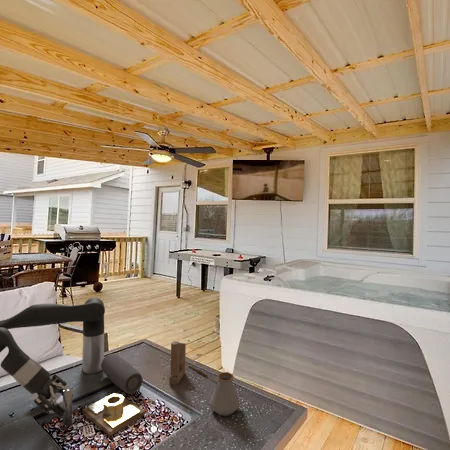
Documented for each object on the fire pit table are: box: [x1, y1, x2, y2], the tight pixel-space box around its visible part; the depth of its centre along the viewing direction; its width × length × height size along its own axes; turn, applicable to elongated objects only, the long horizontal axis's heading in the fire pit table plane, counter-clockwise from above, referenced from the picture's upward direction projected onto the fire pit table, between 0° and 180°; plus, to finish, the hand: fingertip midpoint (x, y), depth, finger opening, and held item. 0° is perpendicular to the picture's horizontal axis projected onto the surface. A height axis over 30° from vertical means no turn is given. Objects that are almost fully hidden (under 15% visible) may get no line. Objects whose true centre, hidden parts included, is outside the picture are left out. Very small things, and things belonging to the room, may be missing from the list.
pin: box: [62, 387, 73, 427], centre depth 108 cm, size 3×3×12 cm
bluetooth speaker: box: [101, 353, 144, 395], centre depth 133 cm, size 23×9×10 cm, turn 44°
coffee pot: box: [186, 365, 240, 417], centre depth 119 cm, size 21×12×15 cm, turn 77°
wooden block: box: [168, 340, 187, 386], centre depth 139 cm, size 4×11×18 cm, turn 168°
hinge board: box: [82, 392, 145, 437], centre depth 114 cm, size 18×14×2 cm
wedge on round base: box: [28, 393, 63, 414], centre depth 118 cm, size 9×7×13 cm
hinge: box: [86, 392, 140, 429], centre depth 114 cm, size 17×11×4 cm, turn 52°
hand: (67, 405), depth 108 cm, fingers open, 8 cm apart
